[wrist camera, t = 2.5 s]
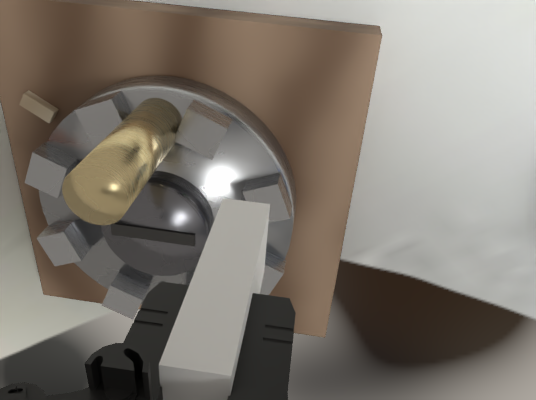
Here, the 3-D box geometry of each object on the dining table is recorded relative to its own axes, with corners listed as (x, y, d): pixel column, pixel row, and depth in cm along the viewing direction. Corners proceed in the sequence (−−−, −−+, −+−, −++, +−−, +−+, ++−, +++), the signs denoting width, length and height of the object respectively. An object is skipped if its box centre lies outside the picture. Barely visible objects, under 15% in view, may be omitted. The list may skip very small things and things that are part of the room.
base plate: (379, 26, 25) (382, 37, 23) (326, 316, 35) (324, 343, 33) (0, -14, 26) (-30, -6, 24) (57, 276, 37) (39, 299, 35)
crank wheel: (309, 92, 25) (292, 186, 16) (284, 301, 32) (263, 438, 24) (41, 61, 26) (-101, 135, 17) (76, 270, 33) (-12, 391, 25)
